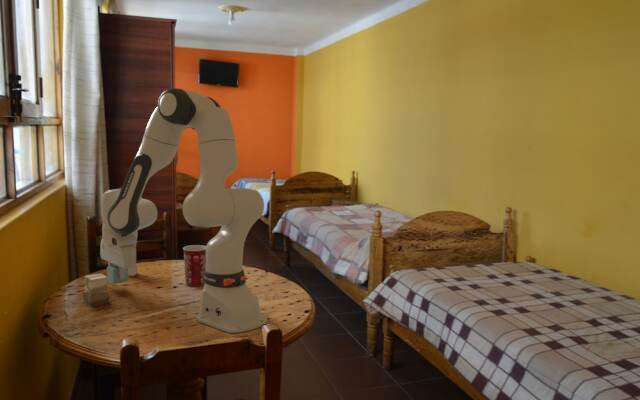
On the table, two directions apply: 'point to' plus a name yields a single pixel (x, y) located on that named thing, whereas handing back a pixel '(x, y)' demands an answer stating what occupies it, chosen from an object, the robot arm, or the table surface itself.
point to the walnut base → (95, 298)
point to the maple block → (96, 284)
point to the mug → (195, 264)
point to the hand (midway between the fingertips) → (117, 276)
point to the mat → (95, 304)
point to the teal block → (115, 275)
